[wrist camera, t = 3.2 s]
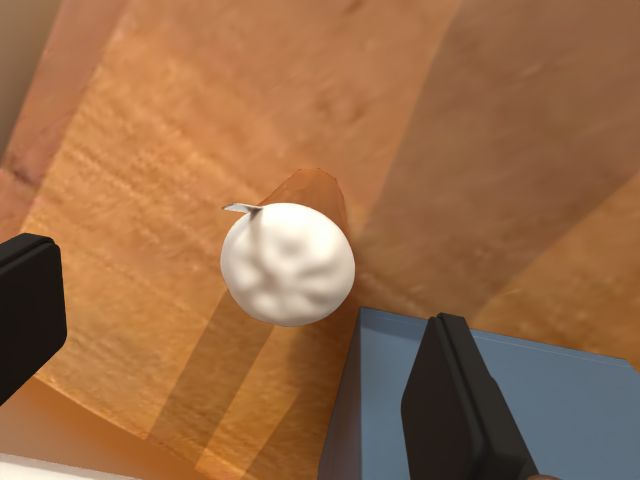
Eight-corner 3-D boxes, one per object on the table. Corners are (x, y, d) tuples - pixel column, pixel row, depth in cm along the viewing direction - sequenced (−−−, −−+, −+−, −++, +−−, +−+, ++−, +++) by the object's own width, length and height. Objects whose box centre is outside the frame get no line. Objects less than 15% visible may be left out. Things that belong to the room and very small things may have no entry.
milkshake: (330, 124, 20) (305, 175, 10) (368, 221, 21) (375, 338, 12) (247, 158, 21) (157, 232, 11) (290, 249, 22) (242, 375, 13)
